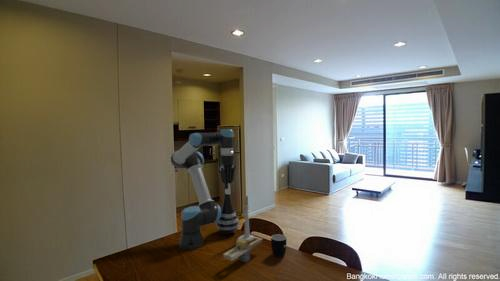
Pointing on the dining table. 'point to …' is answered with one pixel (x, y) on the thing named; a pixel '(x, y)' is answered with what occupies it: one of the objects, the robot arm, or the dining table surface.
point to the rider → (243, 243)
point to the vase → (227, 217)
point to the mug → (278, 245)
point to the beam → (242, 250)
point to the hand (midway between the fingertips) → (227, 193)
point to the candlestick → (246, 222)
